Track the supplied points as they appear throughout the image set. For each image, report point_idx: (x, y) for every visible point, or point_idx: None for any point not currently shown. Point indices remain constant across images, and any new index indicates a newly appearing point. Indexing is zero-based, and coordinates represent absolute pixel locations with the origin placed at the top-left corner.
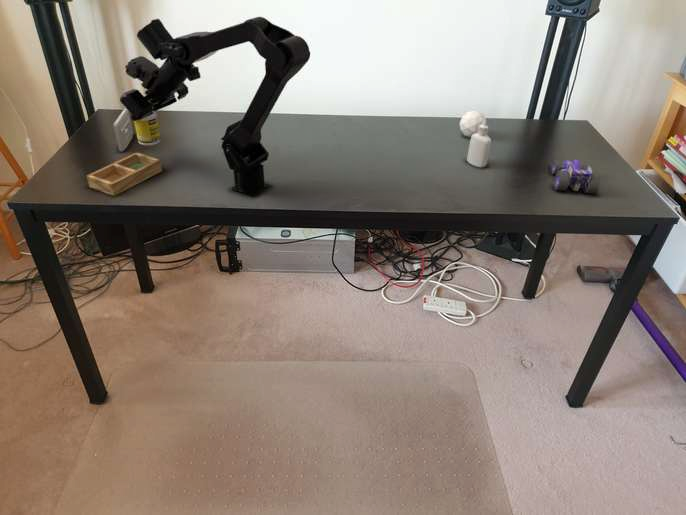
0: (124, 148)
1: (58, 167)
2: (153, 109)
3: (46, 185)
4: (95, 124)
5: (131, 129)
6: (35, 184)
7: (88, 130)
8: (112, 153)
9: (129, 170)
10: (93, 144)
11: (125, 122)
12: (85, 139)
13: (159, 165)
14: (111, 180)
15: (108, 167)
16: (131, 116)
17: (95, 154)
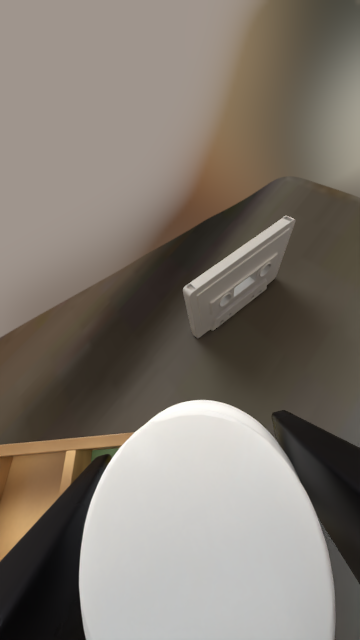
0: (210, 328)
1: (74, 311)
2: (323, 517)
3: (3, 360)
4: (242, 208)
5: (275, 270)
6: (3, 342)
7: (217, 221)
8: (177, 328)
9: None
10: (182, 270)
11: (252, 267)
12: (188, 246)
13: None
14: (47, 476)
15: (47, 452)
16: (82, 477)
17: (152, 309)
